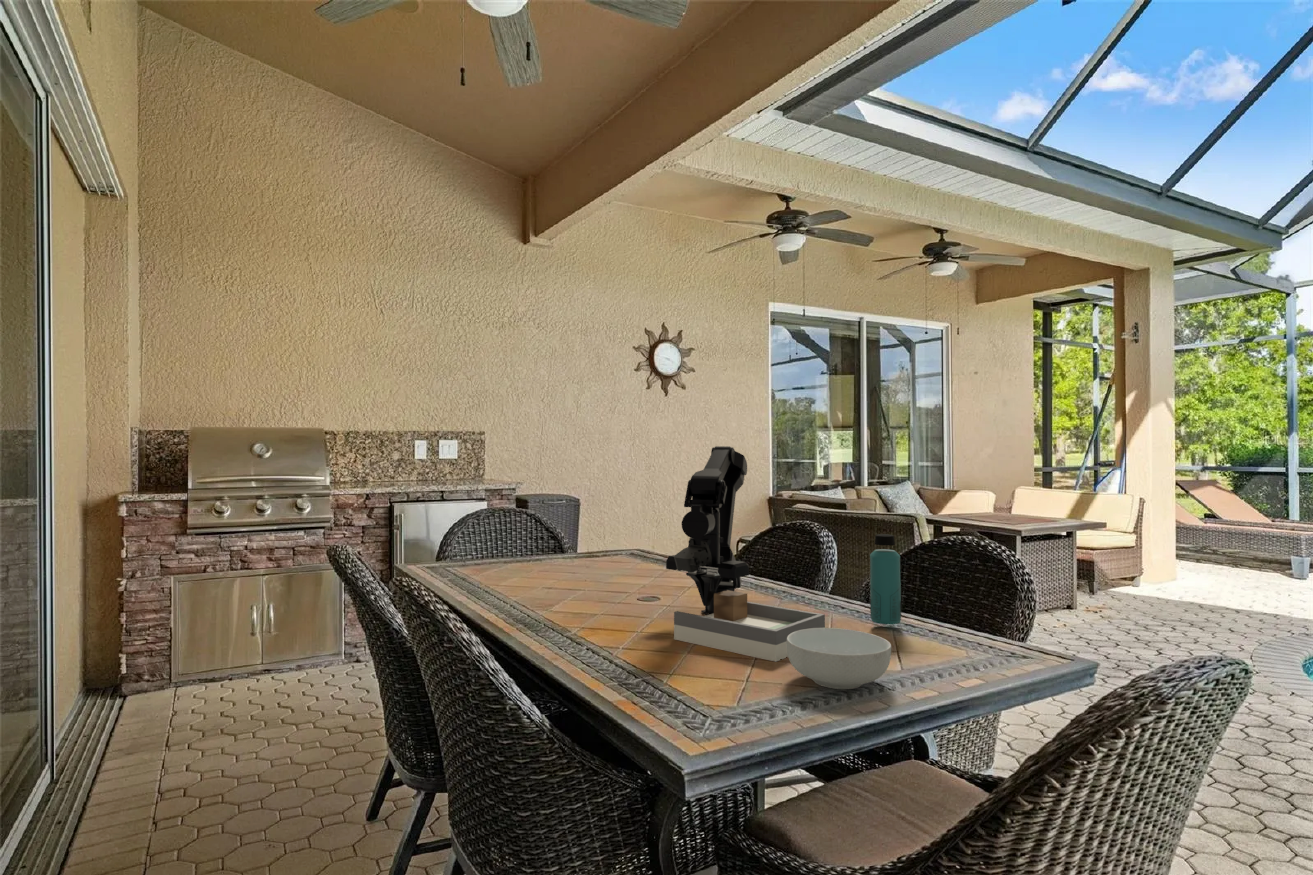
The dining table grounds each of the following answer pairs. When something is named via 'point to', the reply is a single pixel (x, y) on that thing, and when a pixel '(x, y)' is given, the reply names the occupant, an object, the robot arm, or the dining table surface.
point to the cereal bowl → (838, 656)
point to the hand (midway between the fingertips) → (706, 605)
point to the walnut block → (730, 605)
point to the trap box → (747, 630)
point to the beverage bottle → (885, 583)
